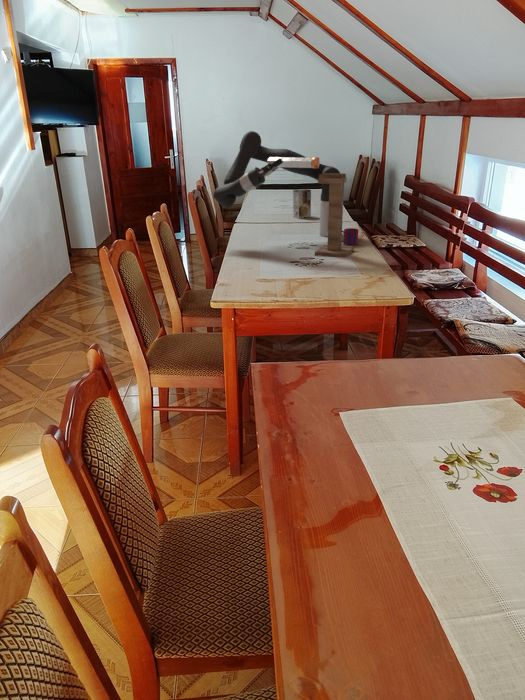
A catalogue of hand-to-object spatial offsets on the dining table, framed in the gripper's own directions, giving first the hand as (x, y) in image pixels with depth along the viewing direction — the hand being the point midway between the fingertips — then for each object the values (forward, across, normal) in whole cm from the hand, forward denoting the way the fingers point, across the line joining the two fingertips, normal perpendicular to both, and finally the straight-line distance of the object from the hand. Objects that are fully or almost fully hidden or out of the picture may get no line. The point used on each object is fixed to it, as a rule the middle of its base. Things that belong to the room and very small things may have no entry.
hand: (283, 160), depth 232 cm
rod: (+2, +1, +5) cm, 5 cm away
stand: (+2, 0, +46) cm, 46 cm away
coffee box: (-36, +86, +25) cm, 96 cm away
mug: (+2, +20, +46) cm, 51 cm away
